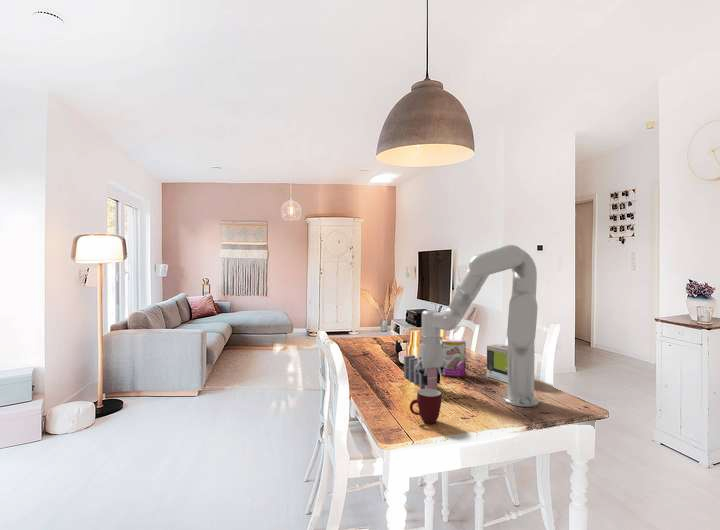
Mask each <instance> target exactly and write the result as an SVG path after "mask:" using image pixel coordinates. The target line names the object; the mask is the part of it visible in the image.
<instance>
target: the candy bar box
mask: <svg viewBox="0 0 720 530" xmlns="http://www.w3.org/2000/svg"><path fill="white" fill-rule="evenodd" d="M440 343H441V345H442V350H443V360H444V361H445V362H446V363H447V366H446V367H445V368H444V369H443V371H442V373H441V374H440V376H441V377H464V376H465V377H466V350H467V349H466V346H467V344H466V340H463V339H442V340H440Z"/></svg>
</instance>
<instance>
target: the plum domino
mask: <svg viewBox="0 0 720 530" xmlns="http://www.w3.org/2000/svg"><path fill="white" fill-rule="evenodd" d="M426 376H427V385H425V388H424V389H435V390H438V383H437V368H429V369H428V370H427V374H426Z"/></svg>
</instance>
